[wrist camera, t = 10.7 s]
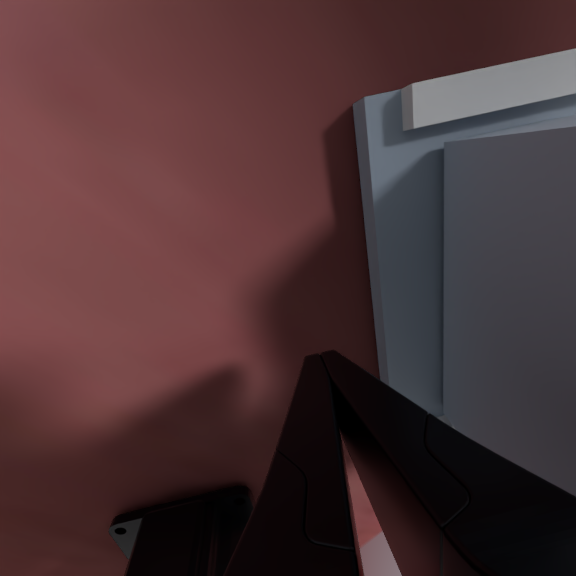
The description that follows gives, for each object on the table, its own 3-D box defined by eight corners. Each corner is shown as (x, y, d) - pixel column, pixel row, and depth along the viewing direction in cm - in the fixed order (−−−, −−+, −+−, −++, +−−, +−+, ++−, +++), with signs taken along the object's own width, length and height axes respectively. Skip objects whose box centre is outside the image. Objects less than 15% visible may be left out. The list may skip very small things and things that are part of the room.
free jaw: (526, 392, 12) (692, 529, 8) (443, 412, 12) (560, 563, 8) (565, 115, 8) (951, 54, 4) (444, 142, 8) (686, 112, 4)
